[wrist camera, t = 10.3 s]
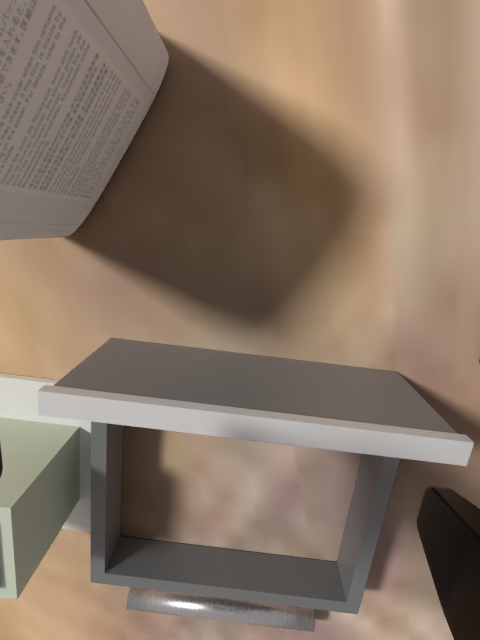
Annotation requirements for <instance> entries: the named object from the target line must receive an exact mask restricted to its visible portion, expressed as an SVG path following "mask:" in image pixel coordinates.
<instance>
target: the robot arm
mask: <svg viewBox="0 0 480 640" xmlns="http://www.w3.org/2000/svg"><path fill="white" fill-rule="evenodd" d="M479 362H480V361H479ZM2 470H3V463H2V453H1V443H0V477H1V475H2ZM417 528H418V532H419V535H420V539H421V542H422V545H423V548H424V552H425V555H426V558H427V561H428V565H429V568H430V571H431V574H432V577H433V581H434V584H435V587H436V590H437V594H438V597H439V600H440V603H441V606H442V609H443V612H444V615H445V618H446V620H447V623H448V625H449V628H450V630H451V633H452V635H453V638H454V640H480V509H479V508H477V507H476V506H475V505H473V504H472V503H470V502H469V501H467V500H466V499H464V498H463V497H462V496H460V495H459V494H457V493H456V492H454V491H453V490H451V489H449V488H446V487H437V486H429V487H427V488H426V490H425V492H424V496H423V499H422V503H421V506H420V510H419V513H418V517H417Z"/></svg>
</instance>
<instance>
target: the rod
mask: <svg viewBox="0 0 480 640" xmlns="http://www.w3.org/2000/svg"><path fill="white" fill-rule="evenodd" d="M126 608H127V610H135V611H144V612H152V613H161V614H169V615H177V616H186V617H194V618H202V619H211V620H219V621H227V622H236V623H244V624H252V625H261V626H269V627H277V628H286V629H294V630H302V631H311V632H314V629H315V611H314V609H310V608H302V607H294V606H285V605H277V604H269V603H260V602H252V601H244V600H235V599H227V598H218V597H210V596H202V595H193V594H185V593H177V592H168V591H160V590H152V589H143V588H135V587H131V588H130V591H129V595H128V599H127V606H126Z"/></svg>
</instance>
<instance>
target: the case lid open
mask: <svg viewBox="0 0 480 640" xmlns="http://www.w3.org/2000/svg"><path fill="white" fill-rule="evenodd" d="M38 413H39V415H42V416H50V417H59V418H67V419H76V420H84V421H92V422H101V423H109V424H117V425H126V426H134V427H143V428H151V429H159V430H168V431H176V432H185V433H193V434H201V435H210V436H218V437H227V438H235V439H243V440H252V441H260V442H268V443H277V444H285V445H294V446H302V447H310V448H319V449H327V450H336V451H344V452H352V453H361V454H369V455H378V456H386V457H394V458H403V459H411V460H420V461H428V462H436V463H445V464H453V465H461V466H467V463H468V460H469V457H470V454H471V451H472V448H473V445H474V442H473V441H472V440H471V439H470V438H469V437H468V436H467V435H463V434H457V433H456V432H455V431H454V430H453V429H452V428H451V427H450V425H449V424H448V423H447V422H446V421H445V420H444V419H443V418H442V417H441V416H440V415H439V414H438V413H437V412H436V411H435V410H434V409H433V408H432V407H431V406H430V405H429V404H428V403H427V402H426V401H425V400H424V399H423V398H422V397H421V396H420V395H419V394H418V393H417V391H416V390H415V389H414V388H413V387H412V386H411V385H410V384H409V383H408V382H407V381H406V380H405V379H404V378H403V377H402V376H401V375H400V374H399V373H398V372H394V371H385V370H377V369H368V368H360V367H352V366H343V365H335V364H326V363H318V362H310V361H301V360H293V359H284V358H276V357H267V356H259V355H251V354H242V353H234V352H225V351H217V350H209V349H200V348H192V347H183V346H175V345H167V344H158V343H150V342H141V341H133V340H124V339H116V338H110V339H109V340H108V341H107V342H106V343H104V344H103V345H102V346H101V347H100V348H98V349H97V350H96V351H95V352H93V353H92V354H91V355H90V356H89V357H87V358H86V359H85V360H84V361H83V362H81V363H80V364H79V365H78V366H76V367H75V368H74V369H73V370H72V371H70V372H69V373H68V374H67V375H65V376H64V377H63V378H62V379H61V380H59V381H58V382H57V383H56V384H55V385H53V386H52V385H44V386H43V387H42V388H40V389H39V390H38Z"/></svg>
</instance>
